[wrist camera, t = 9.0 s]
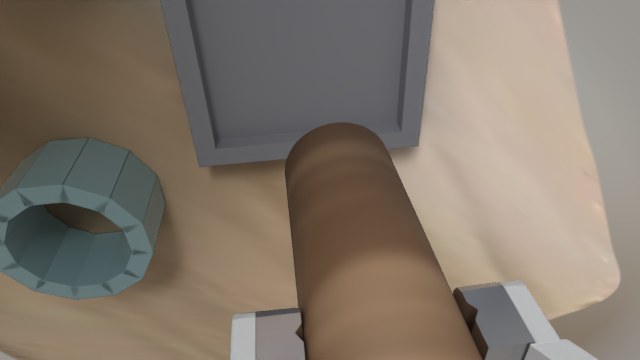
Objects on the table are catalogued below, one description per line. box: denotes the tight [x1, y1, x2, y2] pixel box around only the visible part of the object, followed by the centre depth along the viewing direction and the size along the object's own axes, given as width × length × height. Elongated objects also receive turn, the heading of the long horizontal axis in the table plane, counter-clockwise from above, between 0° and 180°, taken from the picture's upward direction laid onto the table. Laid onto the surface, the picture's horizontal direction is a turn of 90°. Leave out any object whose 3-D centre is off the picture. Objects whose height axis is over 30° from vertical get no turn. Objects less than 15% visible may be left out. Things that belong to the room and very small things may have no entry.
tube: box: [0, 137, 166, 300], centre depth 29 cm, size 9×9×5 cm
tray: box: [160, 0, 435, 167], centre depth 25 cm, size 14×14×2 cm
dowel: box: [285, 122, 482, 360], centre depth 11 cm, size 4×4×12 cm
